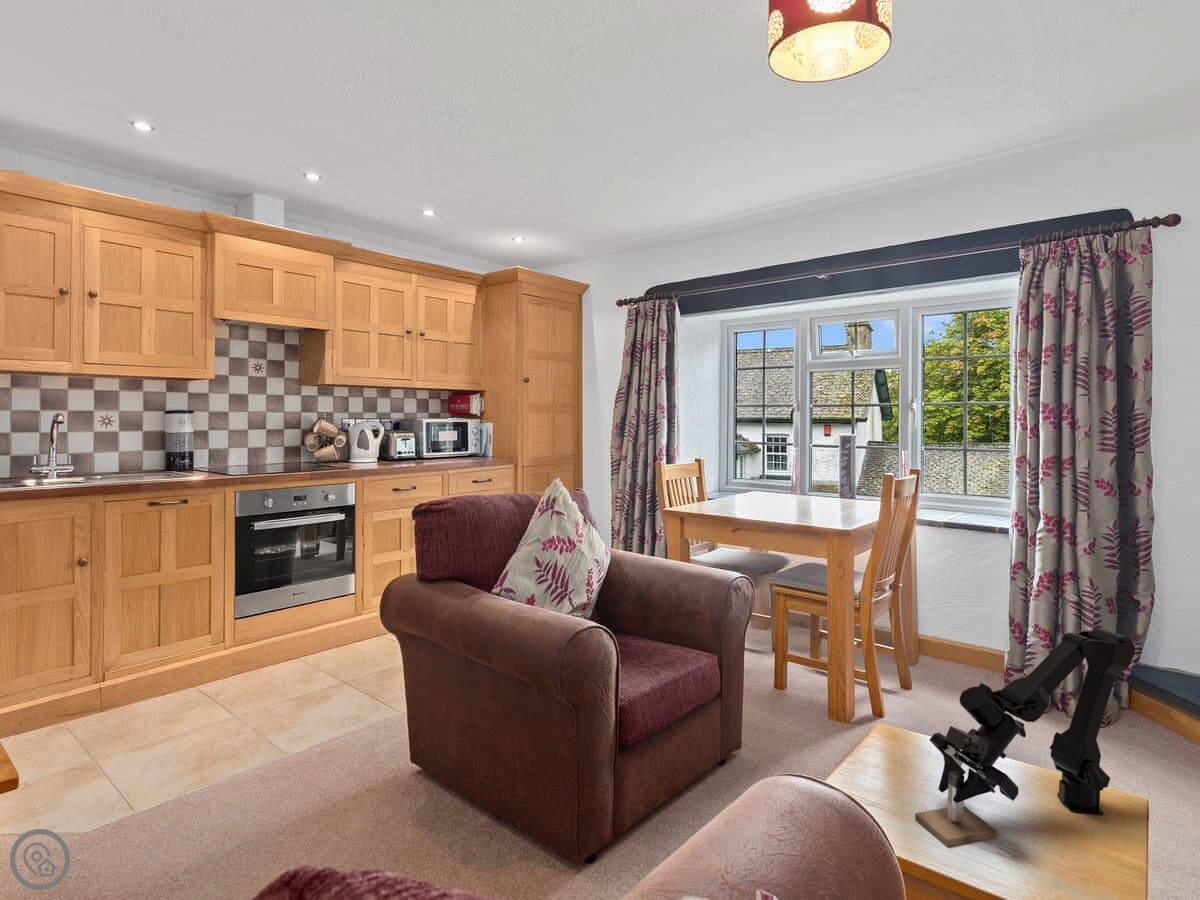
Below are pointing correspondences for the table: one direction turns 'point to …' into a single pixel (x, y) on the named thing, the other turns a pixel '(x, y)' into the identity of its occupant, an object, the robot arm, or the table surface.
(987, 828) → the stand
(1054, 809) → the table surface
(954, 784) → the arm
